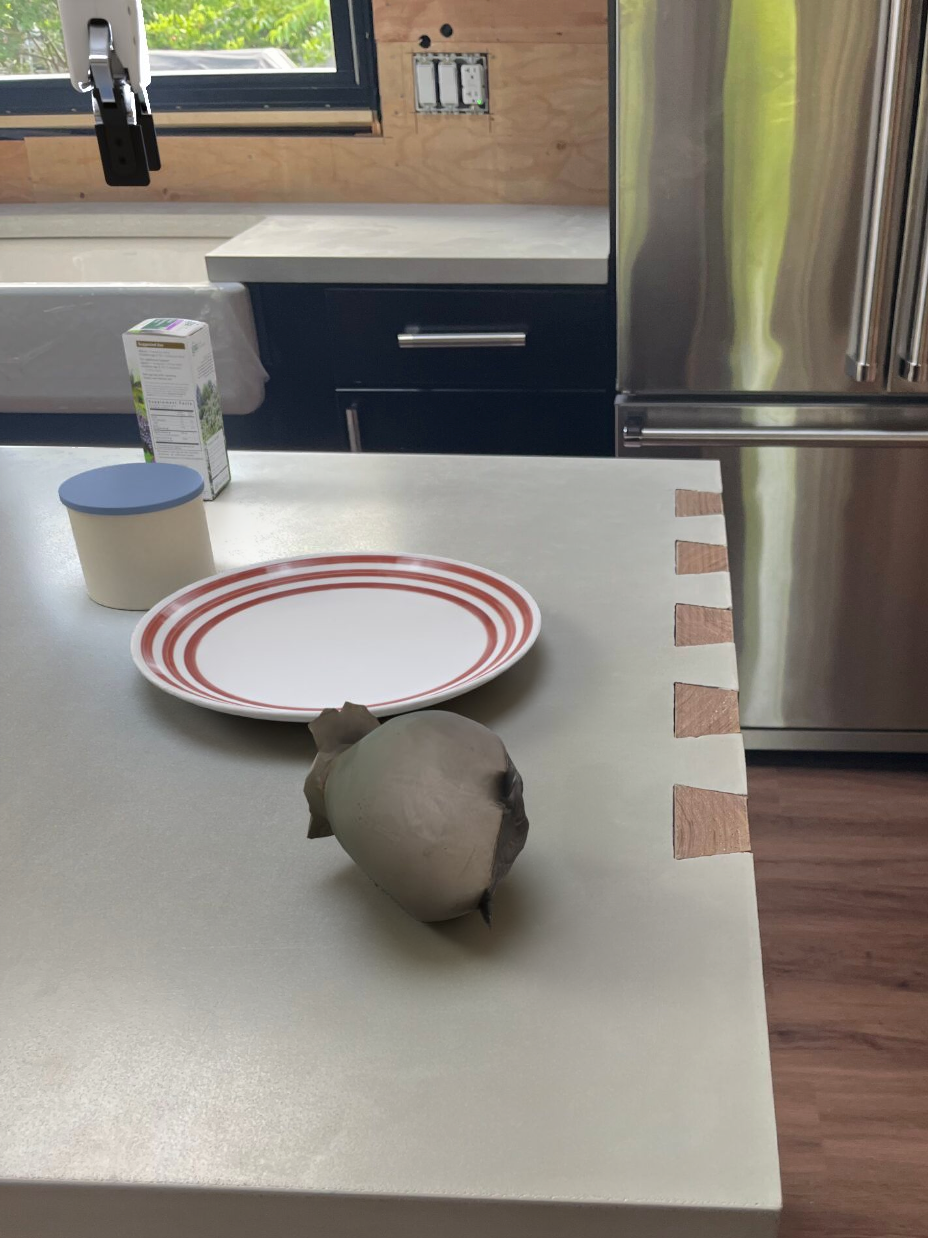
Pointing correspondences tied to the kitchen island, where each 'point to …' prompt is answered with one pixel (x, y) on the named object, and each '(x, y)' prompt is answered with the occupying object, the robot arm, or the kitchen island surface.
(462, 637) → the dinner plate
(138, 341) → the syrup box
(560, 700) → the kitchen island surface
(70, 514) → the yogurt tub
